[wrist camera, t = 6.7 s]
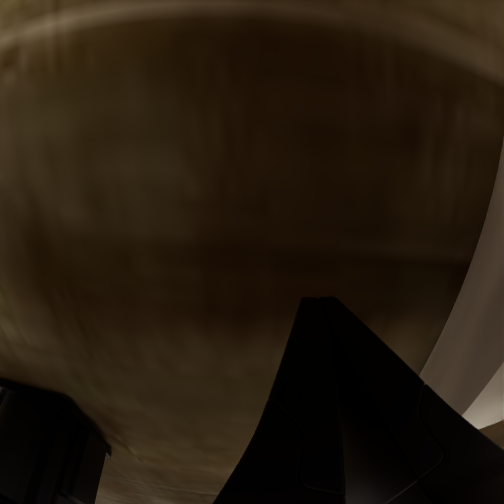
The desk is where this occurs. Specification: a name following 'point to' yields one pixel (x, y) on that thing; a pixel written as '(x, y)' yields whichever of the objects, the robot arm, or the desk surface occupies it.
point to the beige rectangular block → (476, 328)
